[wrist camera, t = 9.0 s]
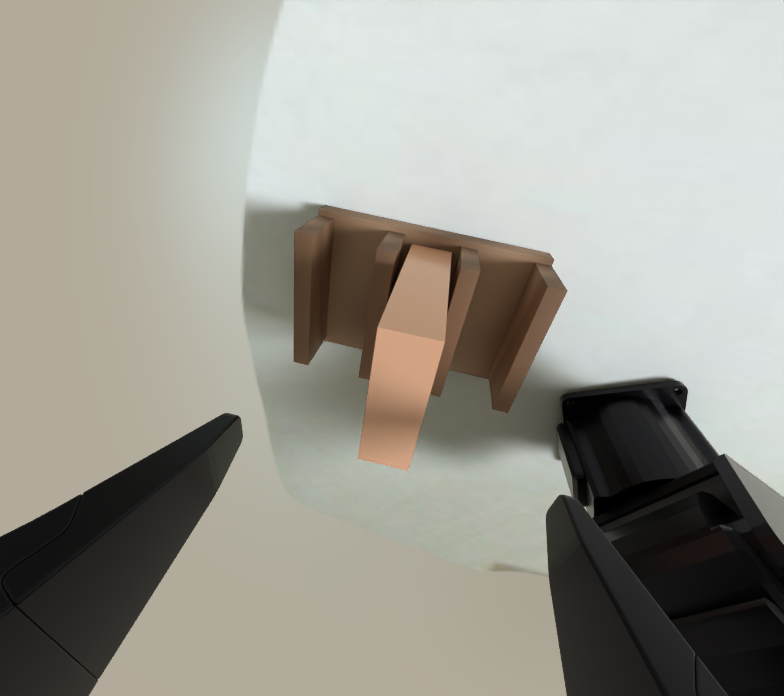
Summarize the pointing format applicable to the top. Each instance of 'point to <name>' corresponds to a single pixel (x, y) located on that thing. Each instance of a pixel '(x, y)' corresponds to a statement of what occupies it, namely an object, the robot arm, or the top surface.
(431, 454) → the top surface
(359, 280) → the rack
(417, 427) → the block
